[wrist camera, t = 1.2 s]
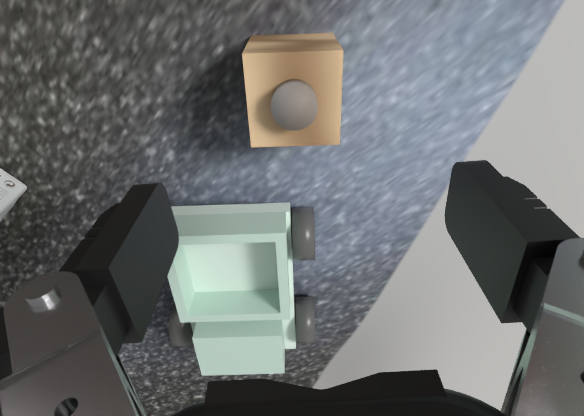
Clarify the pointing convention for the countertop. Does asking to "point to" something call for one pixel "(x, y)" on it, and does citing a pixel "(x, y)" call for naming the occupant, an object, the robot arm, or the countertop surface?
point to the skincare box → (9, 192)
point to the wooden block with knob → (293, 89)
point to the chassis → (240, 285)
